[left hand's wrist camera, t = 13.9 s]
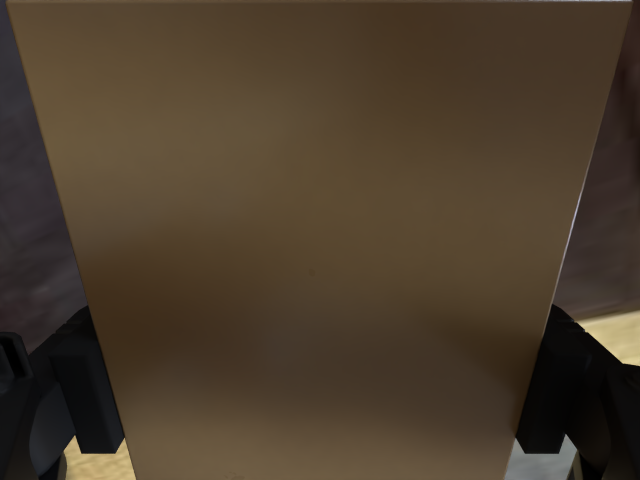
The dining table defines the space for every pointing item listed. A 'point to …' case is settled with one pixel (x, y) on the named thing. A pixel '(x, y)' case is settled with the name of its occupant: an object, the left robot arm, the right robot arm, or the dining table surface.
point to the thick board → (319, 218)
